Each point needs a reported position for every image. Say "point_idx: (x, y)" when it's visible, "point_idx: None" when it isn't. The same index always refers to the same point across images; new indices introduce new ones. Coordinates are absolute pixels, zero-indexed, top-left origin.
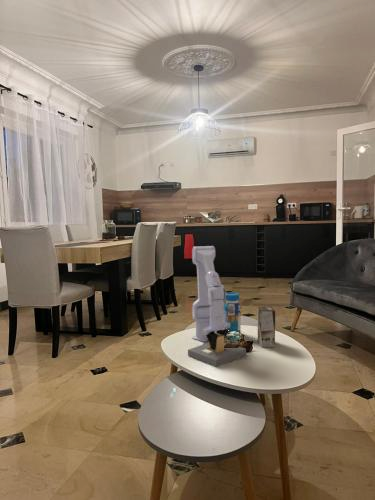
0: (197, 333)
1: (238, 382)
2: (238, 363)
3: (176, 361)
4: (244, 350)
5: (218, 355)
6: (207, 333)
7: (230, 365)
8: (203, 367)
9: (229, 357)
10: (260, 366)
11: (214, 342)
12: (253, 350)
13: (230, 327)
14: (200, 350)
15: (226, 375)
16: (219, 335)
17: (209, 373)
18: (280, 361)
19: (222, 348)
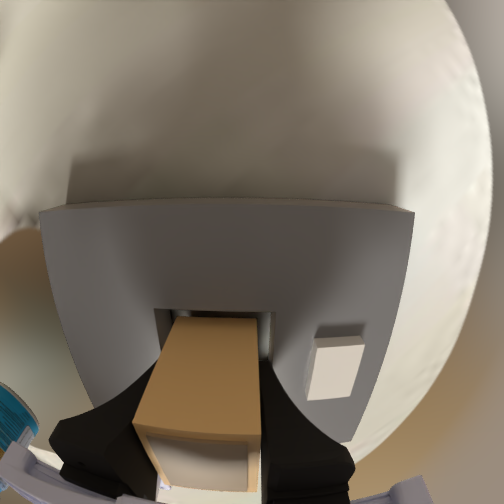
0: (157, 495)
1: (429, 5)
2: (224, 120)
3: (426, 390)
4: (56, 209)
5: (320, 272)
6: (406, 490)
7: (302, 140)
8: (435, 258)
9: (243, 201)
10: (162, 5)
11: (291, 403)
12: (7, 222)
13: (9, 426)
14: (320, 410)
15: (430, 80)
16: (187, 451)
17: (468, 176)
18: (42, 19)
19: (192, 337)
